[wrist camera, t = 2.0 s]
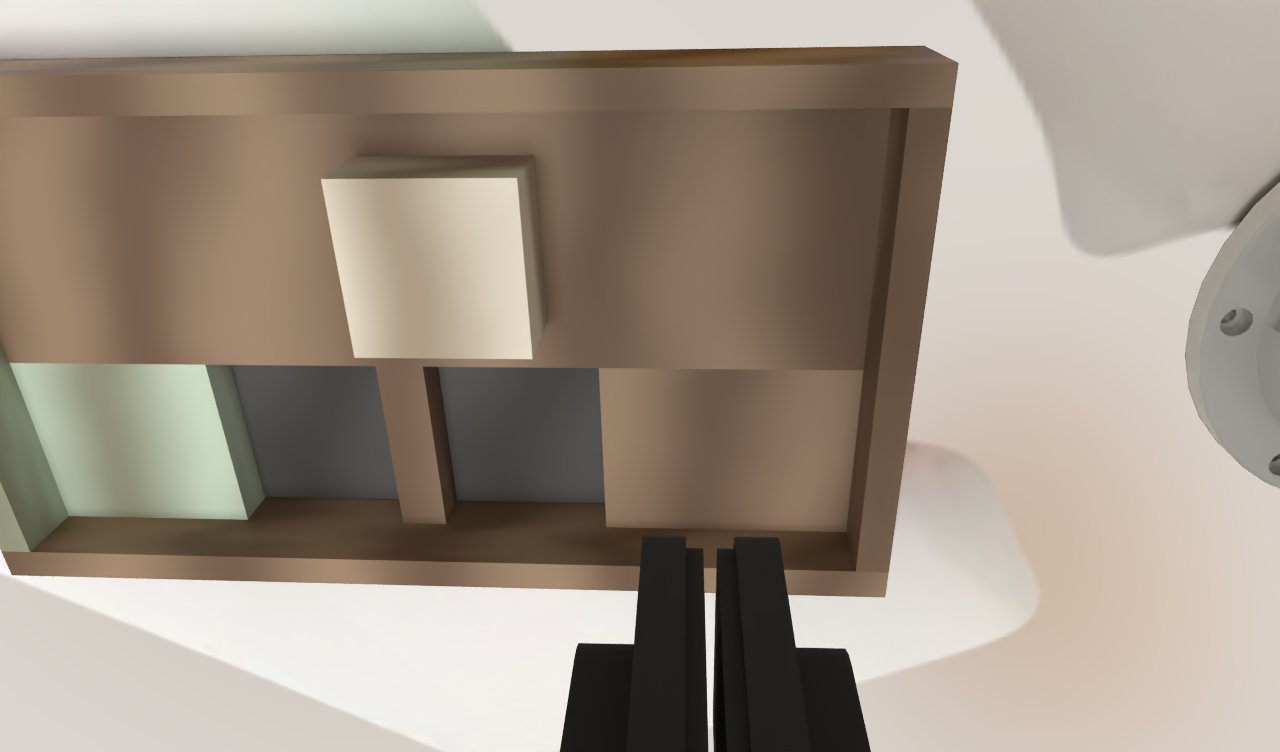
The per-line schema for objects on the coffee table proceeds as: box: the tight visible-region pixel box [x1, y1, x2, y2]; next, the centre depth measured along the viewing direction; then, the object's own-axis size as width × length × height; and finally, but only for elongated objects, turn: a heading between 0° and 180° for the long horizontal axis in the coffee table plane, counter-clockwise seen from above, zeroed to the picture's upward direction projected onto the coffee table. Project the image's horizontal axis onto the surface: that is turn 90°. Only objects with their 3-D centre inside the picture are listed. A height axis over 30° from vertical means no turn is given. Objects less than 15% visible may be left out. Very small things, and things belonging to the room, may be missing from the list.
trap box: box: [0, 46, 958, 597], centre depth 26 cm, size 29×16×4 cm, turn 91°
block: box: [321, 155, 547, 359], centre depth 24 cm, size 5×5×2 cm
